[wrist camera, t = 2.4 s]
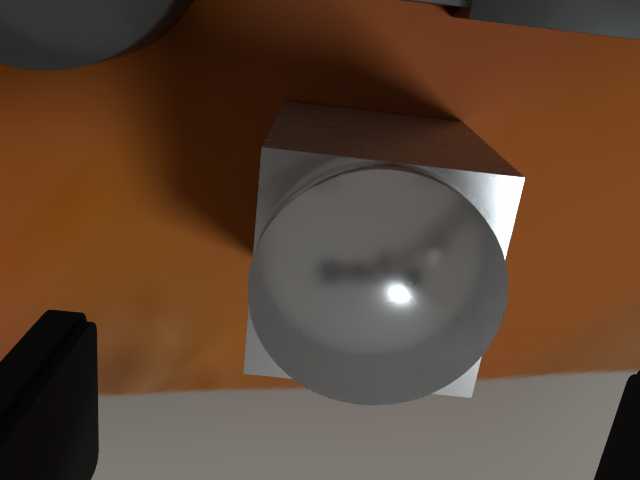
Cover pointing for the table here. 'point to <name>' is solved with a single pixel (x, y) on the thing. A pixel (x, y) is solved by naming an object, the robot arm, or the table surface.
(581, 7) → the ratchet
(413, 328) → the domed grey cube
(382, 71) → the table surface
